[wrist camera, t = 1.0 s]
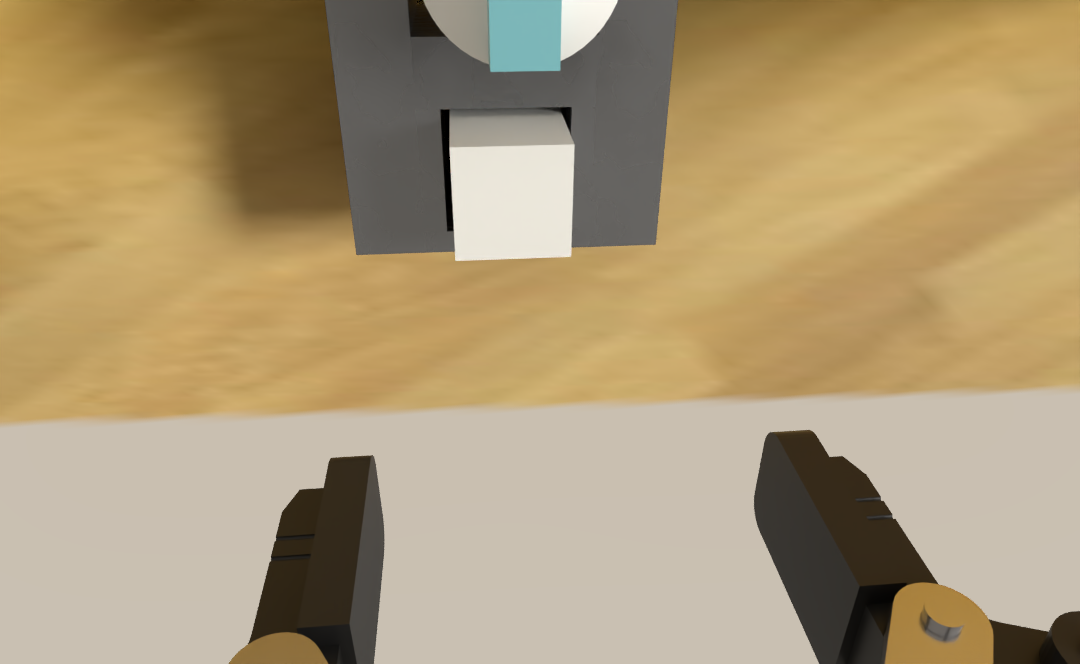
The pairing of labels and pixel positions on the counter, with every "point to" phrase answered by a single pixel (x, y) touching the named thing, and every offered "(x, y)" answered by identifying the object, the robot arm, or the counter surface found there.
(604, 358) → the counter surface
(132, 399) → the counter surface
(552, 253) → the off-white cube
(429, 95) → the housing
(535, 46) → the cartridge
